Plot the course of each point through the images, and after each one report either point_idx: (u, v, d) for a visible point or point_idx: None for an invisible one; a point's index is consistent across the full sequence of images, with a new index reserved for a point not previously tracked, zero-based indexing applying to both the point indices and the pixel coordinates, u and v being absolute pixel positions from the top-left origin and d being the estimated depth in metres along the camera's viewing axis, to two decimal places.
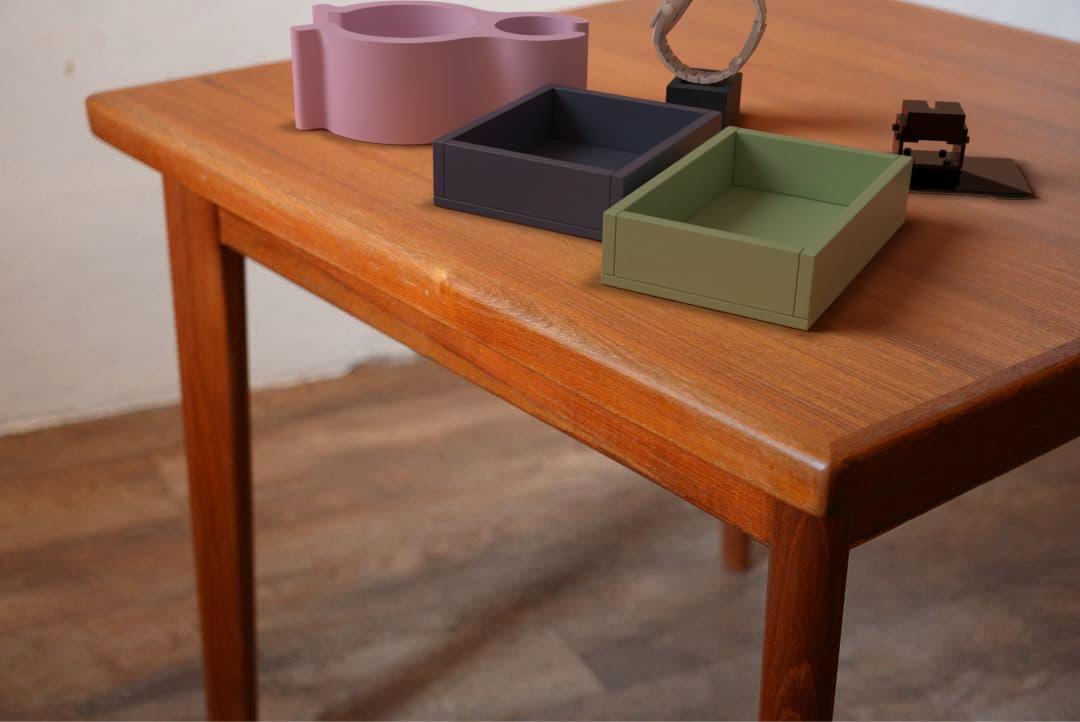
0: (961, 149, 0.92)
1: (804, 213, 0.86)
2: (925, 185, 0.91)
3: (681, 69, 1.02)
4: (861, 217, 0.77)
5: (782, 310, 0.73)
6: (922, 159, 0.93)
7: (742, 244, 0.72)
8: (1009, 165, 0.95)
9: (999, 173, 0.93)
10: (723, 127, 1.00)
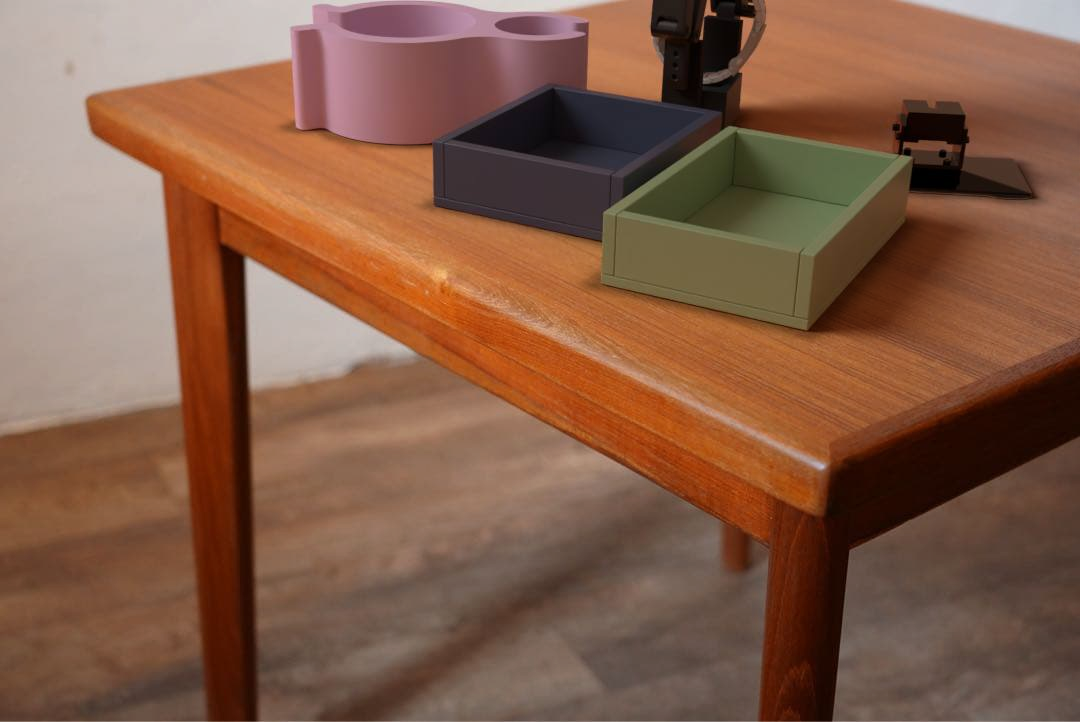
0: (961, 149, 0.92)
1: (804, 213, 0.86)
2: (925, 185, 0.91)
3: None
4: (861, 217, 0.77)
5: (782, 310, 0.73)
6: (922, 159, 0.93)
7: (742, 244, 0.72)
8: (1009, 165, 0.95)
9: (999, 173, 0.93)
10: (723, 127, 1.00)
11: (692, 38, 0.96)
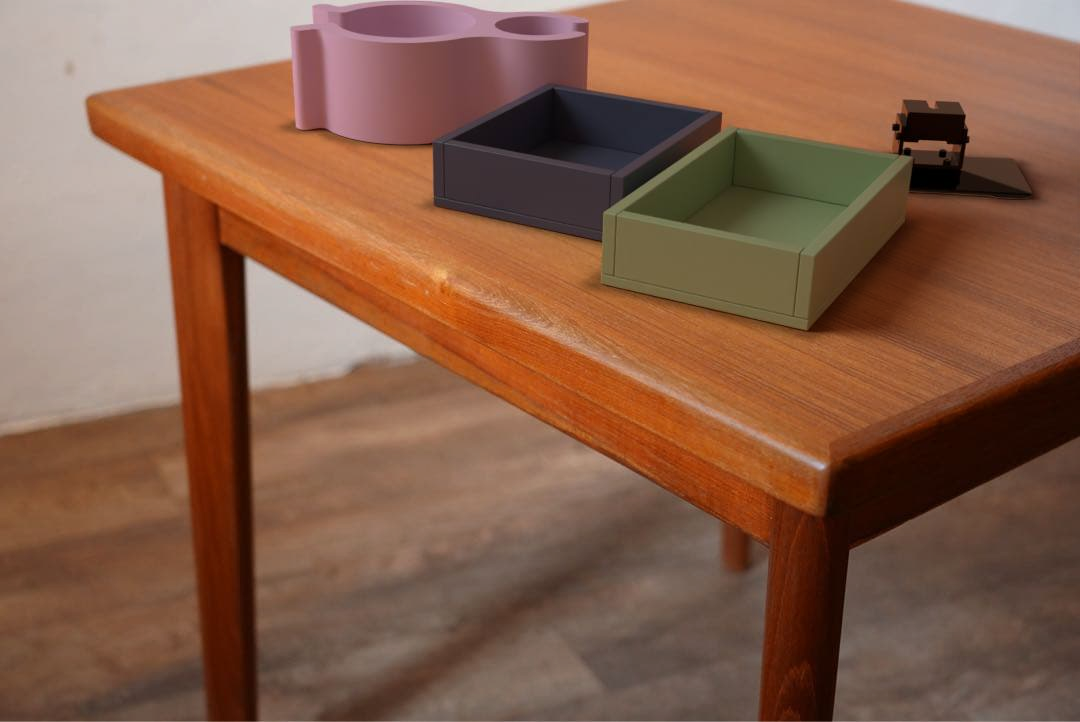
0: (961, 149, 0.92)
1: (804, 213, 0.86)
2: (925, 185, 0.91)
3: None
4: (861, 217, 0.77)
5: (782, 310, 0.73)
6: (922, 159, 0.93)
7: (742, 244, 0.72)
8: (1009, 165, 0.95)
9: (999, 173, 0.93)
10: None
11: None
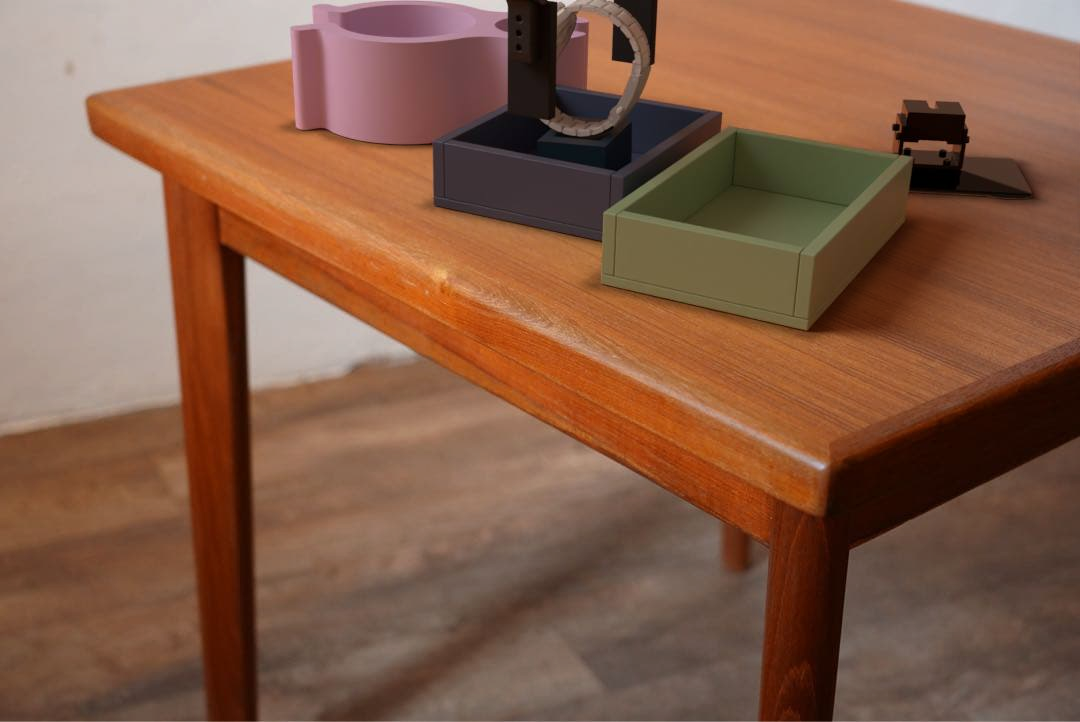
0: (961, 149, 0.92)
1: (804, 213, 0.86)
2: (925, 185, 0.91)
3: (557, 120, 0.89)
4: (861, 217, 0.77)
5: (782, 310, 0.73)
6: (922, 159, 0.93)
7: (742, 244, 0.72)
8: (1009, 165, 0.95)
9: (999, 173, 0.93)
10: None
11: None
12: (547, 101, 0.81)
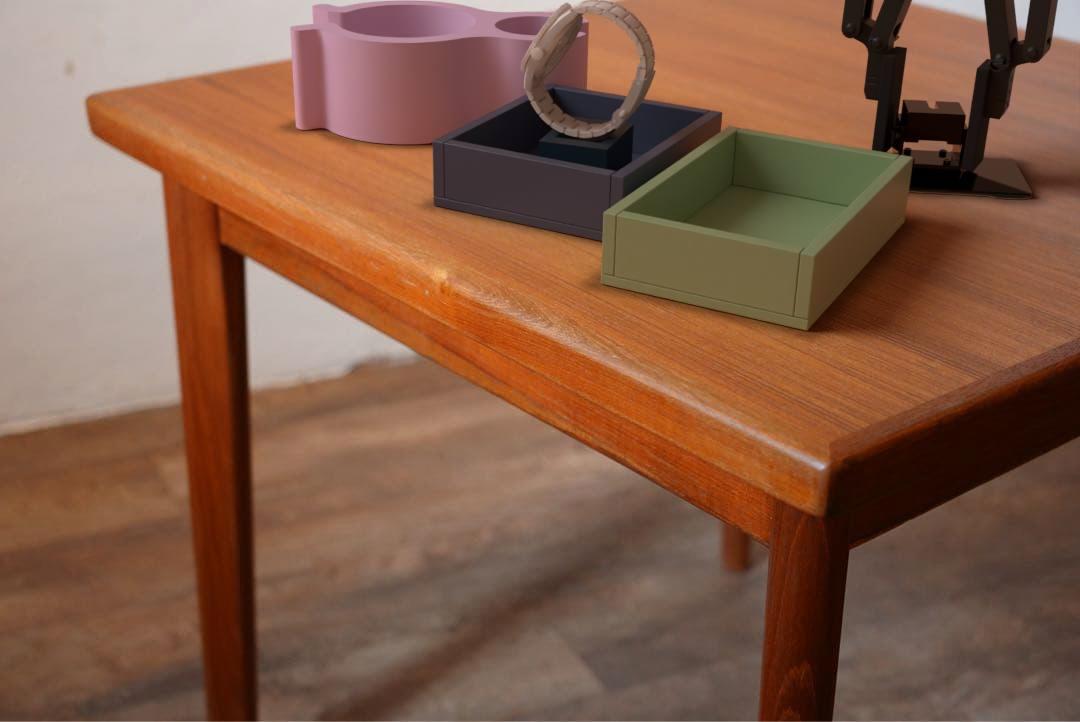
0: (961, 149, 0.92)
1: (804, 213, 0.86)
2: (925, 185, 0.91)
3: (559, 120, 0.89)
4: (861, 217, 0.77)
5: (782, 310, 0.73)
6: (922, 159, 0.93)
7: (742, 244, 0.72)
8: (1009, 165, 0.95)
9: (999, 173, 0.93)
10: None
11: (868, 44, 0.91)
12: (873, 137, 0.93)
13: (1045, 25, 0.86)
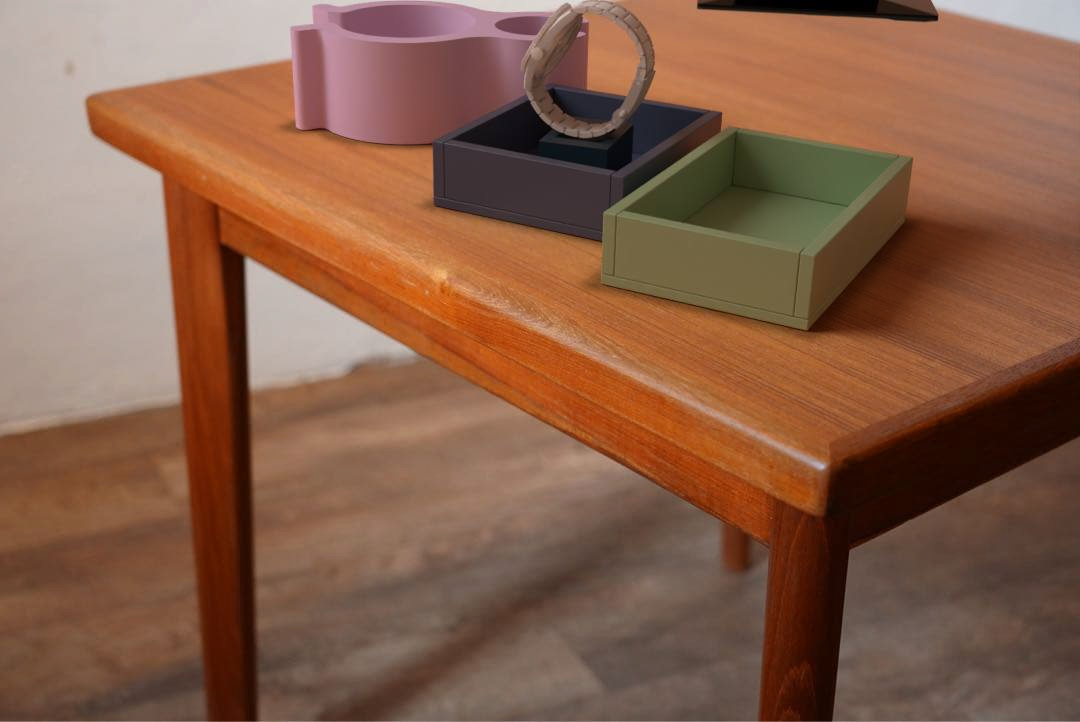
0: None
1: (804, 213, 0.86)
2: (809, 6, 0.75)
3: (559, 120, 0.89)
4: (861, 217, 0.77)
5: (782, 310, 0.73)
6: None
7: (742, 244, 0.72)
8: None
9: None
10: None
11: None
12: None
13: None
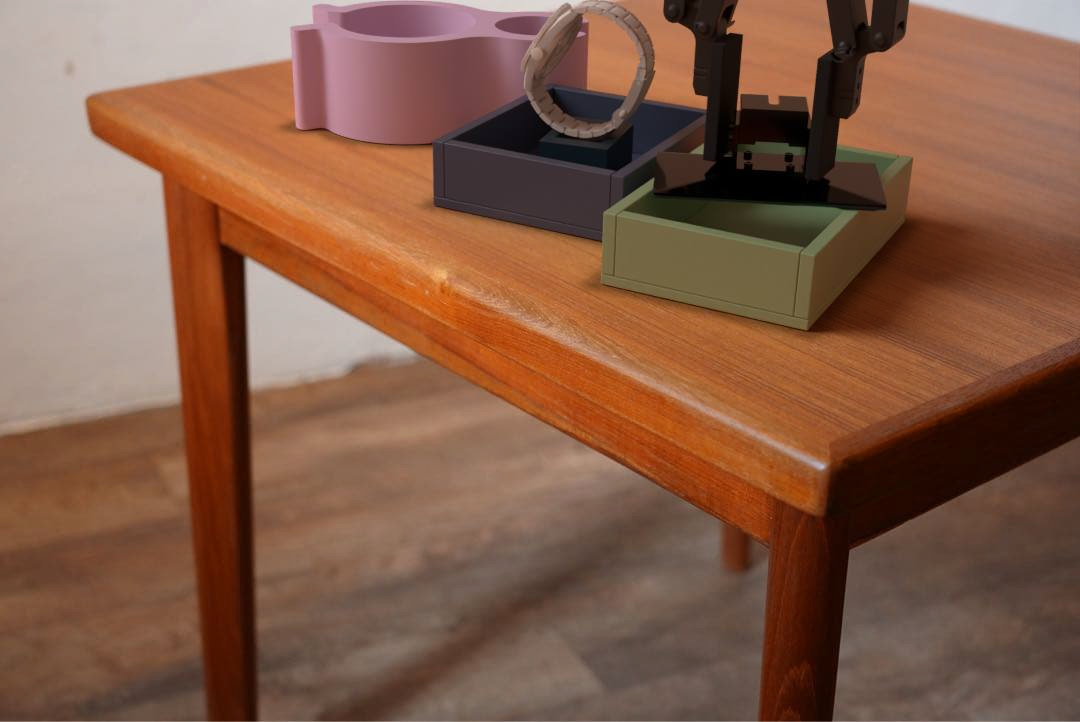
0: (805, 152, 0.77)
1: (804, 213, 0.86)
2: (762, 195, 0.77)
3: (559, 120, 0.89)
4: (861, 217, 0.77)
5: (782, 310, 0.73)
6: (762, 164, 0.79)
7: (742, 244, 0.72)
8: (868, 171, 0.81)
9: (853, 180, 0.79)
10: None
11: (694, 30, 0.77)
12: (705, 140, 0.79)
13: (893, 6, 0.72)
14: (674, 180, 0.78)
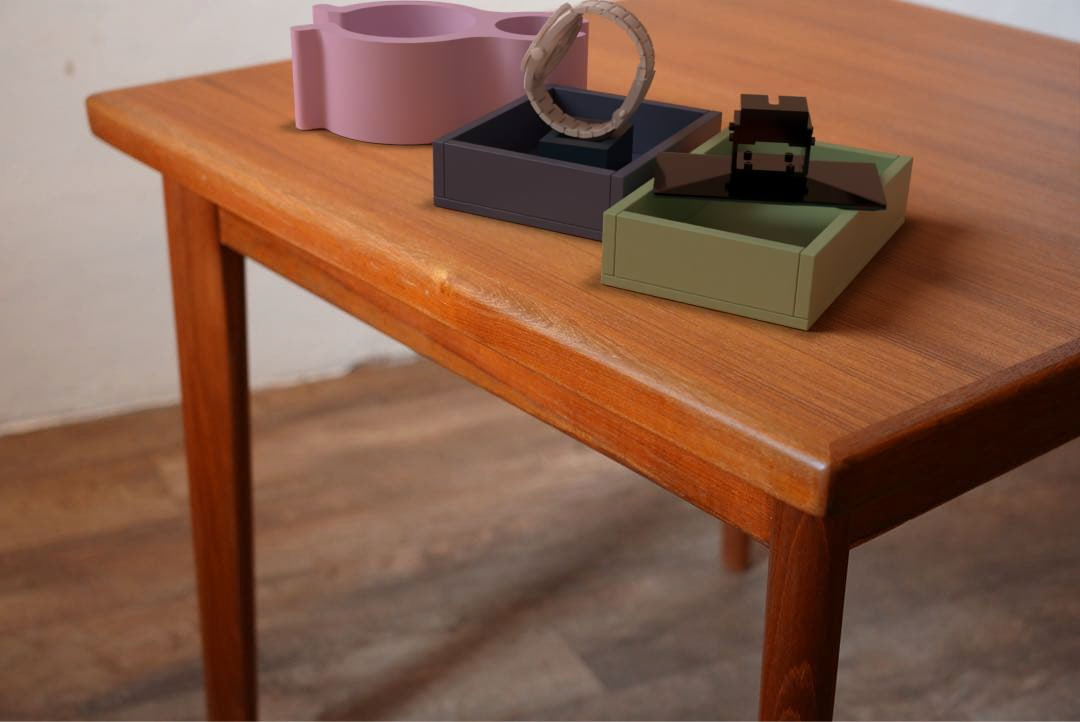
0: (805, 152, 0.77)
1: (804, 213, 0.86)
2: (762, 195, 0.77)
3: (559, 120, 0.89)
4: (861, 217, 0.77)
5: (782, 310, 0.73)
6: (762, 164, 0.79)
7: (742, 244, 0.72)
8: (868, 171, 0.81)
9: (853, 180, 0.79)
10: None
11: None
12: None
13: None
14: (674, 180, 0.78)
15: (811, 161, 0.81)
